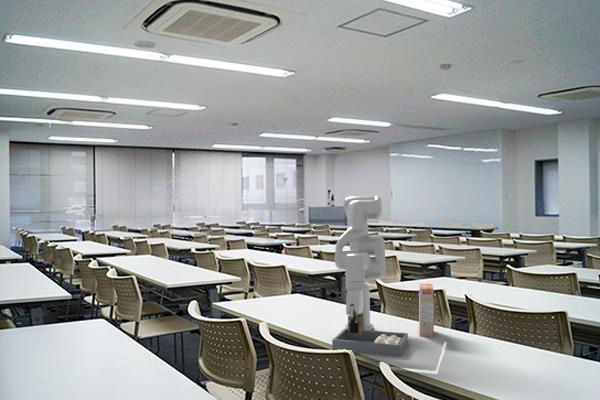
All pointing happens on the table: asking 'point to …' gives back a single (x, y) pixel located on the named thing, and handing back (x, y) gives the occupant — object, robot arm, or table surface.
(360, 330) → the walnut block
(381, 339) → the egg carton
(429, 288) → the cracker box
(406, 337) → the tray
